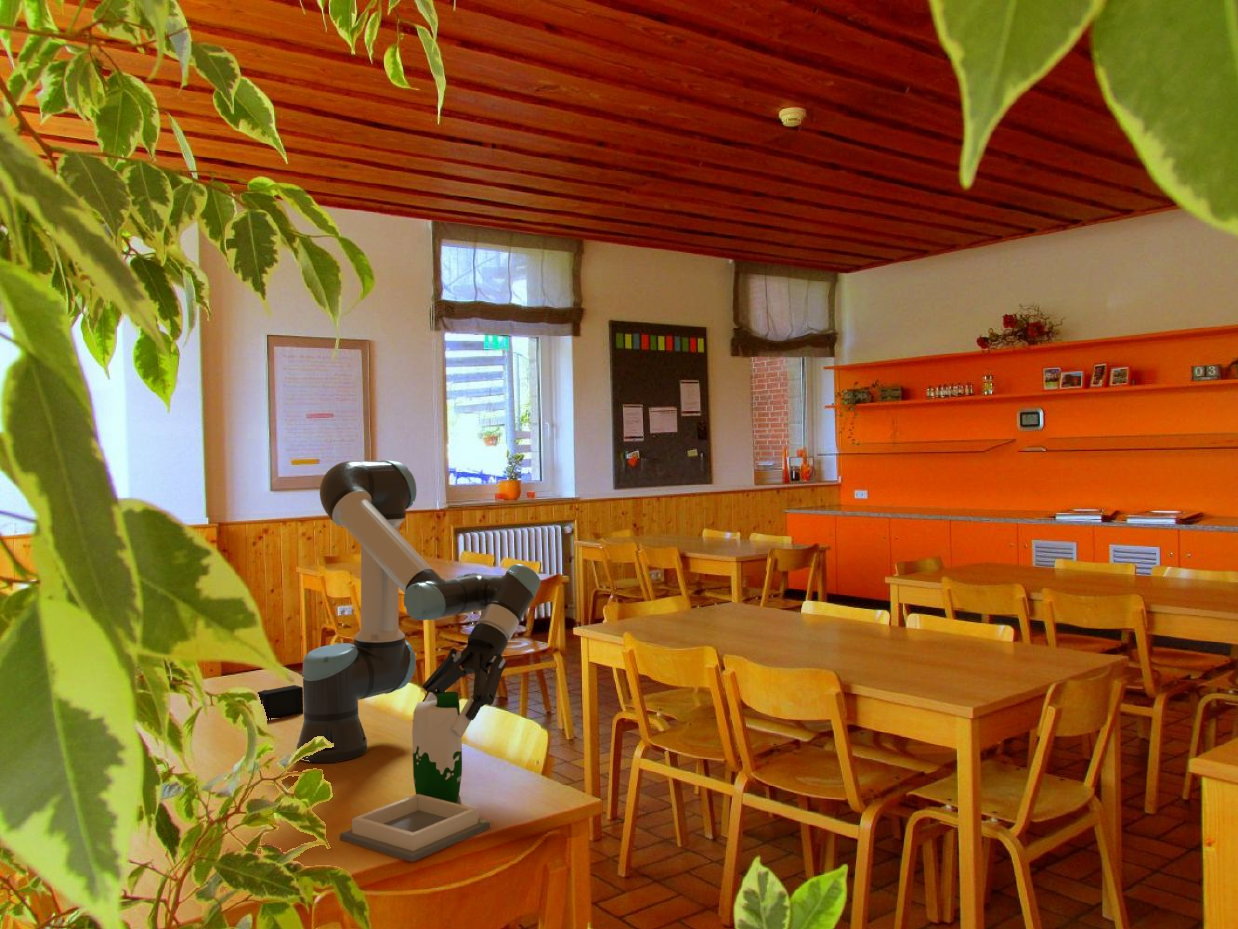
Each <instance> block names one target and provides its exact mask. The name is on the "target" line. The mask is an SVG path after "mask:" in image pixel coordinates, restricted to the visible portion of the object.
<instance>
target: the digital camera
mask: <svg viewBox="0 0 1238 929" xmlns="http://www.w3.org/2000/svg"><path fill="white" fill-rule="evenodd" d="M258 694H259V697H260V700H261V704H263V706H264V709H265V712H266V716H267V719H268V721H267V722H269V718H270V721H272V720H271V718H280V719H283V717H284V718H288V717H289V718H290V717H294V716H297V715H302V714H303V715H304V699H303V686H299V685H296V684H293V685H287V686H282V687H277V688H272V689H264V690H260V691H257V695H258Z"/></svg>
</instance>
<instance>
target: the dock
mask: <svg viewBox="0 0 1238 929" xmlns="http://www.w3.org/2000/svg"><path fill="white" fill-rule="evenodd" d="M478 810H479V809H478V808H477V807H472V806H468V805H463V804H460V803H458V802H457V803H453V802H449V801H445V800H440V799H436V798H432V797H428V796H424V795H420V794H416V793H415V794H414V795H411V796H408V797H406V798H403V799H401V800H399V801H398V800H397V801H395V802H393V803H389V804H387V805H384V806H382V807H379V808H377V809H374V810H371V811H369V812H366V813H363V814H361V815H357V816H355V817H352V819H351V821H352V823H351V825H352V826H351V827H352V828H351V829H349V830H347V831H344V832H342V833H340V834H339V840H340V841H343V842H346V843H349V844H352V845H355V846H359V847H362V848H366V849H368V850H370V851H371V850H372V851H376V852H379V853H381V854H384V855H387V856H390V857H395V858H398V859H401V860H404V861H407V862H410V863H414V862H416V861H418V860H421V859H423V858H425V857H428V856H430V855H432V854H435V853H437V852H439V851H441V850H444V849H446V848H448V847H450V846H453V845H455V844H457V843H460V842H461V841H464V840H467V839H469V838H470V837H473V836H475V835H478V834H480V833H482V832H484V831H486V830H489V829H491V821H487V819H485V818H483V819H482V818H481V819H479V811H478Z"/></svg>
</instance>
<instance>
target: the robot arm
mask: <svg viewBox="0 0 1238 929" xmlns="http://www.w3.org/2000/svg"><path fill="white" fill-rule="evenodd" d="M319 486H320V487H319V498H320V502H321V506H322V508H323V510H324V511H325V513H326V515H327V516H328V517H329V519H330V520H332V522H333V523H334V524H335V525H336V526H338V527H341V528H342V527H344V528H345V529H346V531H348V533H349V534H350V535H351V536H352V537H354V538H355V540H356V542H358V544H360V629H359V631H358V632H356V634H355V635H354V636H353V643H349V642H345V643H343V642H341V643H339V642H338V643H334V644H327V645H324V646H319V647H317V648H314V649H312V650H310V651H308V653H306V654H305V655H304V658H303V660H302V673H301V677H302V685H303V686H302V687H303V724H302V726H301V731H300V735H299V738H298V742H297V744H296V750H297V749H299V748H300V747H301V746H303V745H304V744H305V743H308V742H309V741H311V740H312V739H313V738H314V737H317V736H324V737H325V738H326V739H327V740H328V741H330V742H331V743H334V747H332V748H325V749H323V750H321V751H318V752H316V753H314V754H313V755H310V756H305V757H303V758H302V759H304V760H309V761H310V762H309V763H312V762H315V764H324V763H325V764H326V763H328V764H329V763H336V762H343V761H348V760H351V759H357V758H358V757H361V756H363V755H364V754H366V753H367V752H368V739H367V737H366V734H365V731H364V727H363V726H362V722H361V720H360V717H359V701H360V700H365V699H367V698H368V699H369V698H372V697H376V696H379V695H384V694H385V695H388V694H390V693H395V691H397V690H398V691H399V690H400V689H403V688H404V687H406V686H407V685H408V684H409V683H410V682H411V681H412V679H413V677H414V673H415V672H416V671H415V670H416V666H417V665H416V664H417V663H416V660H417V659H416V653H415V651H413V646H412V645H411V644H410V643H409V642H408V640H406V635H405V633H404V632H403V631H402V630H401V629H400V628H399V627H400V626H399V624H400V623H399V622H400V621H399V610H400V609H399V608H400V607H399V600H400V598H399V596H400V595H399V594H400V593H399V591H400V590H401V591H402V592H403V606H404V607H405V609H406V612H405V613H407V615H408V616H409V617H410V618H411V619H413V620H415V621H427V620H428V621H432V620H433V621H434V620H437V619H440V618H444V617H445V618H446V617H450V616H451V617H452V616H455V615H462V614H468V613H472V612H481V611H482V613H481V615H480V616H479V618H478V620H477V624H475V625H474V626H473V628H472V631H471V632H470V634H469V635H468V637H467V645H466V647H465V648H463V649H462V651H459V650H456V648H455V647H454V648H451V649H450V650H449V652H448V655H447V656H446V658H445V659H444V660H443V661H442V662H441V664H440V665H439V666H438V667H437V668H436V669H435V670H434V671H433V673H432V674H431V675H430V676H429V677H428V678H427V680H426V681H425V682H423V683H422V689H423V690H424V691H425V692H426V694H425V696H424V697H423V700H421V702H431V701H434V700H437V694H438V693H441V692H447V690H448V689H449V688H451V687H452V686H453V685H454V684H456V682H457V681H459V680H460V679H461V678H464V677H466V676H467V675H472V674H474V679H473V680H474V681H473V690H472V691H473V692H472V695H470V698H468V699H467V700H466V703H465V704H464V706H463V707H462V709H461V711H460V715H459V716H458V719H457V721H456V722H455V724H454V725H453V727H452V730H453V731H454V732H455V733H456V734H457V735H458V736H459V737H461V738H462V737H464V734H465V733H466V731H467V729H468V727H469V726H470V724H471V722H472V721H474V719H476V717H477V715H478V713H479V712H480V710H481V708H482V707H484V706H485V705H487V706H492V705H493V704H494V702H495V697H496V695H497V692H498V688H499V685H500V682H501V678H502V674H503V672H504V670H505V669H506V667H507V665H508V661H507V660H506V658H504V657H503V654H504V651H505V650H506V647H507V646H508V643H509V641H510V640H511V638H512V637H513V635H514V633H515V632H516V630H517V628H518V626H519V624H520V623H521V621H522V619H523V617H524V616H525V614H526V613H527V611H528V608H530V605H531V604H532V602H533V600H534V599H535V598H536V595H537V593H538V591H539V588H540V587H541V583H542V582H541V578H540V576H539V575H538V574H537V572H536V571H535V570H533V569H532V568H531V567H529V566H527V565H524V564H521V563H514V564H512V565H510V566H509V567H508V569H507V570H506V572H505V574H504V575H503V574H500V575H499V574H496V575H494V574H493V575H492V574H491V575H490V574H480V573H476V572H474V573H473V572H472V573H463V574H460V575H458V576H457V577H452V578H445V579H444V578H442V577H441V576H440V574H438V573H437V571H435V569H433V567H432V566H430V564H429V563H428V562H427V561H426V560H425V559H424V558H423V557H422V556H421V555H420V554H419V553H418V551H416V550H415V548H414V547H413V546H412V545H411V544H410V543H409V542H408V541H407V539H405V537H404V536H403V535H402V534H400V525H401V524H402V523H404V521H405V520H406V519H407V518H406V517H407V513H406V512H407V510H408V509H410V508H411V507H412V506H413V505H414V502H416V499H417V491H418V490H417V483H416V479H415V477H414V475H413V473H412V471H411V470H409V468H408V467H407V465H405V464H404V463H402V462H400V461H396V460H385V459H383V460H381V459H380V460H364V461H363V460H361V461H360V460H359V461H358V460H357V461H353V460H351V461H349V460H348V461H343V462H339V463H337V464H336V465H333V466H332V467H331V468H330V469H329V470H328V471H326V473H325V474H324V475H323V478H322V479H321V482H320V485H319ZM303 677H304V678H303ZM306 757H308V758H306Z"/></svg>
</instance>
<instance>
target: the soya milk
mask: <svg viewBox="0 0 1238 929" xmlns="http://www.w3.org/2000/svg"><path fill="white" fill-rule="evenodd" d="M460 710H461V709H460V700H459V693H458V692H456V691H445V692H441V693H438V694H437V700H434V701H431V702H422V701H418V702H417V704H416V706H415V708H414V710H413V716H412V717H413V718H412V729H411V730H412V731H411V736H412V739H411V740H412V773H413V783H414V789H415V795H416V794H420V795H424V796H428V797H432V798H436V799H440V800H445V801H449V802H453V803H457V804H458V800H459V796H460V791H461V790H460V789H461V782H462V776H463V747H462V744H463V742H462V740H463V739H462V737H459V736H458V735H457V734H456V733H455V732H454V731H453V730H452V727H453V725H454V724H455V722H456V721H457V719H458V716H459V715H460V713H461V711H460Z"/></svg>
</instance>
